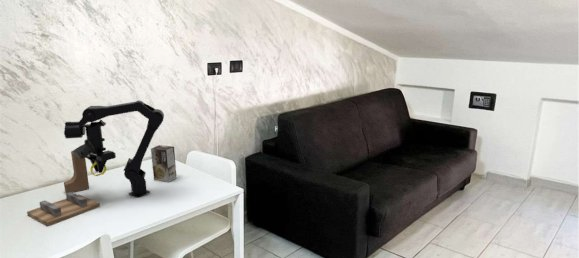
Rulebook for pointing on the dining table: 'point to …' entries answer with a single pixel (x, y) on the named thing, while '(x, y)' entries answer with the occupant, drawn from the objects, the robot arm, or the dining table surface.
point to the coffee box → (163, 163)
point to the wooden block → (77, 176)
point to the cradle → (62, 209)
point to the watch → (100, 173)
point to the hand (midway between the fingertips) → (98, 172)
